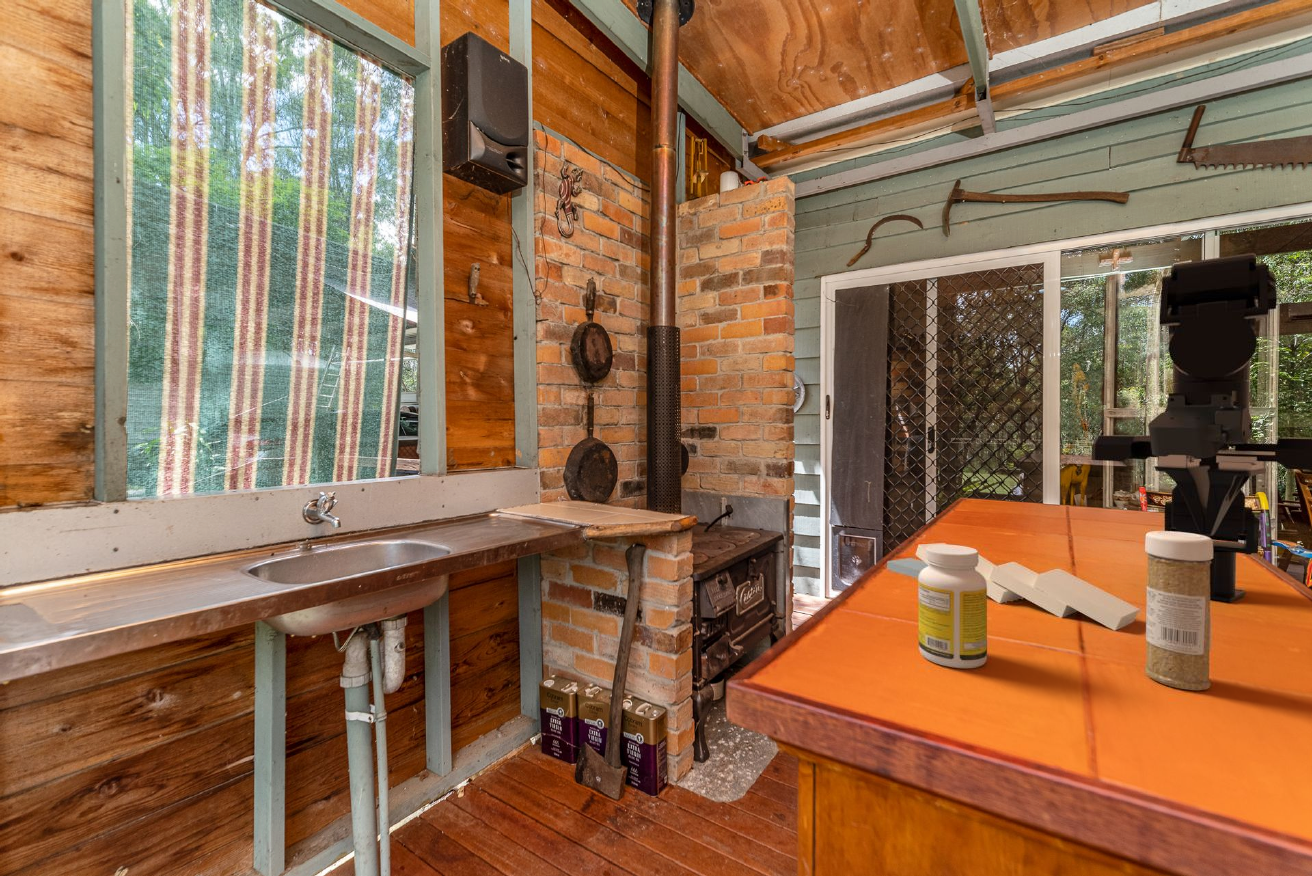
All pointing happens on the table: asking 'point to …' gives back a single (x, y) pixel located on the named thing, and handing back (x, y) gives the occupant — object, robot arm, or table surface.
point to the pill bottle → (952, 608)
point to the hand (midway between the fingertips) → (1207, 534)
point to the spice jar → (1178, 609)
